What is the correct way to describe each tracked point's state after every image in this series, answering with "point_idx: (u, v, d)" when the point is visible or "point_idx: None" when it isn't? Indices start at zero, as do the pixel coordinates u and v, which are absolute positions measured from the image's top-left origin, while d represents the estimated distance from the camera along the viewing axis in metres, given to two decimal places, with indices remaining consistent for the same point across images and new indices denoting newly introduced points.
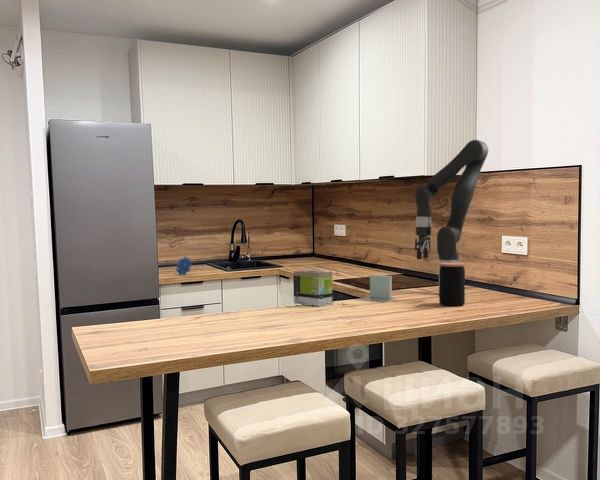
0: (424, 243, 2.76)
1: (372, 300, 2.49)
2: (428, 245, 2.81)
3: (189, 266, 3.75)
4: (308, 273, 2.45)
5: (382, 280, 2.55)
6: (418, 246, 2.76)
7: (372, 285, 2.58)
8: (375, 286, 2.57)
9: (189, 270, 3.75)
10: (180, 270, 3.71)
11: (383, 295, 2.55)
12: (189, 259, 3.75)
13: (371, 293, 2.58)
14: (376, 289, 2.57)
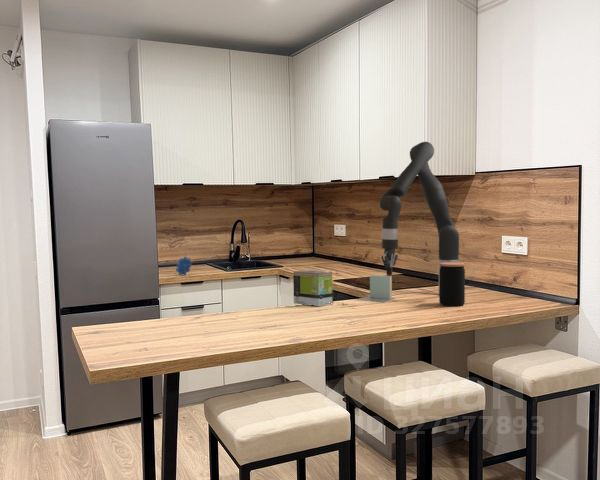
0: (391, 257, 2.63)
1: (372, 300, 2.49)
2: (393, 260, 2.65)
3: (189, 266, 3.75)
4: (308, 273, 2.45)
5: (382, 280, 2.55)
6: None
7: (372, 285, 2.58)
8: (375, 286, 2.57)
9: (189, 270, 3.75)
10: (180, 270, 3.71)
11: (383, 295, 2.55)
12: (189, 259, 3.75)
13: (371, 293, 2.58)
14: (376, 289, 2.57)
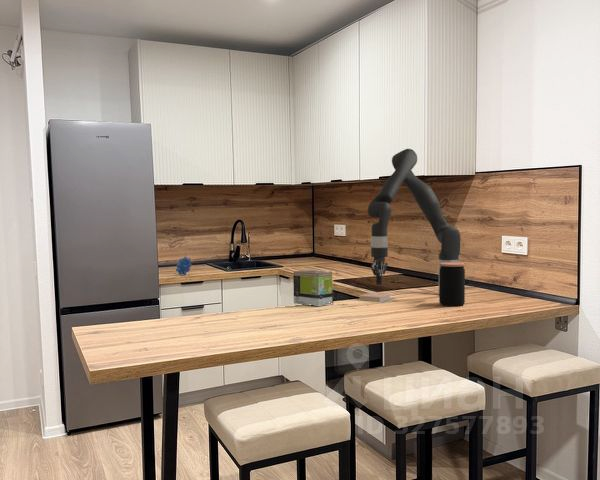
0: (381, 266, 2.54)
1: None
2: (383, 269, 2.55)
3: (189, 266, 3.75)
4: (308, 273, 2.45)
5: None
6: None
7: None
8: None
9: (189, 270, 3.75)
10: (180, 270, 3.71)
11: None
12: (189, 259, 3.75)
13: None
14: None
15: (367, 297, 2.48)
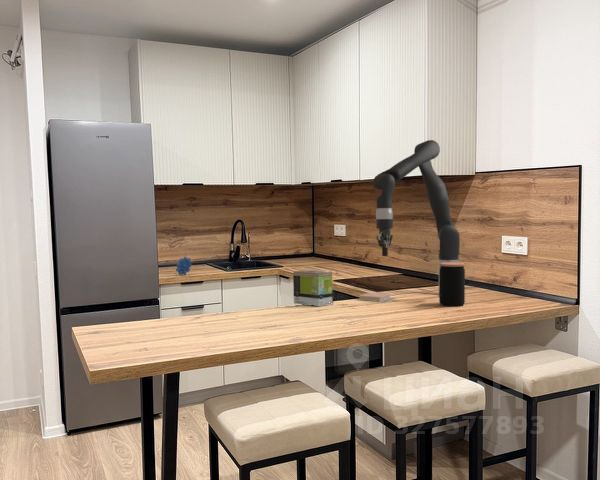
0: (387, 237, 2.57)
1: None
2: (389, 240, 2.58)
3: (189, 266, 3.75)
4: (308, 273, 2.45)
5: None
6: (382, 242, 2.58)
7: None
8: None
9: (189, 270, 3.75)
10: (180, 270, 3.71)
11: None
12: (189, 259, 3.75)
13: None
14: None
15: (367, 297, 2.48)
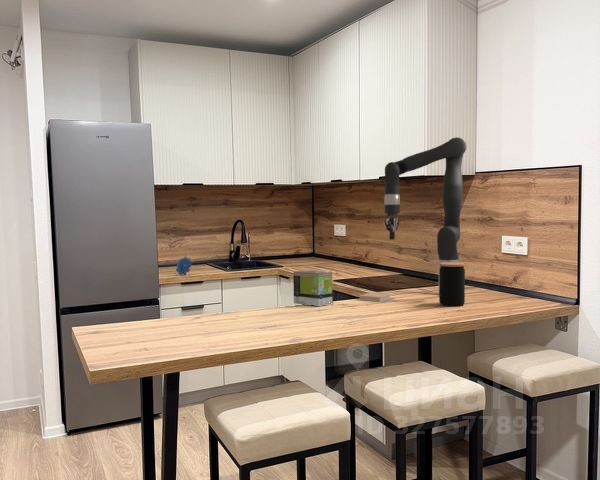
0: (394, 222, 2.73)
1: None
2: (396, 225, 2.75)
3: (189, 266, 3.75)
4: (308, 273, 2.45)
5: None
6: (389, 226, 2.74)
7: None
8: None
9: (189, 270, 3.75)
10: (180, 270, 3.71)
11: None
12: (189, 259, 3.75)
13: None
14: None
15: (367, 297, 2.48)
